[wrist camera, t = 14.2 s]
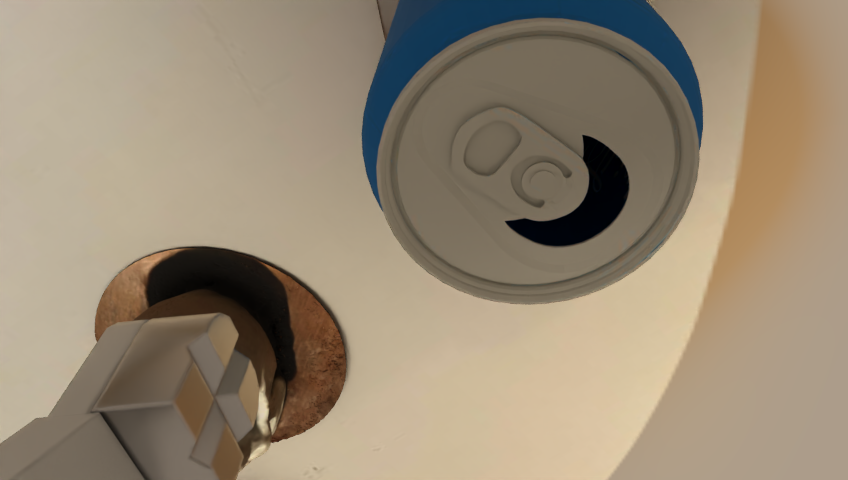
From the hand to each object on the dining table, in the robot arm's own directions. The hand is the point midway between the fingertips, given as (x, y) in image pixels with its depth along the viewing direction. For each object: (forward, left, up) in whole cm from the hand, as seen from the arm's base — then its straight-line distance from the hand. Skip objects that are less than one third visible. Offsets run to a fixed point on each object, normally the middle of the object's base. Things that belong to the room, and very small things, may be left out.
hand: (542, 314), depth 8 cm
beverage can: (0, 0, -16) cm, 16 cm away
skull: (+14, -15, -17) cm, 26 cm away
